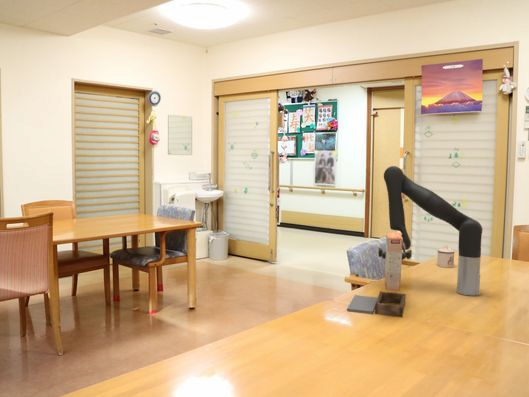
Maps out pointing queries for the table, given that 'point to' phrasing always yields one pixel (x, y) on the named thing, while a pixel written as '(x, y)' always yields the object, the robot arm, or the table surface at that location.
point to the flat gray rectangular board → (362, 304)
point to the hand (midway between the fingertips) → (393, 257)
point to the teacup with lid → (445, 257)
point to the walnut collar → (387, 308)
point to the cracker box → (393, 261)
